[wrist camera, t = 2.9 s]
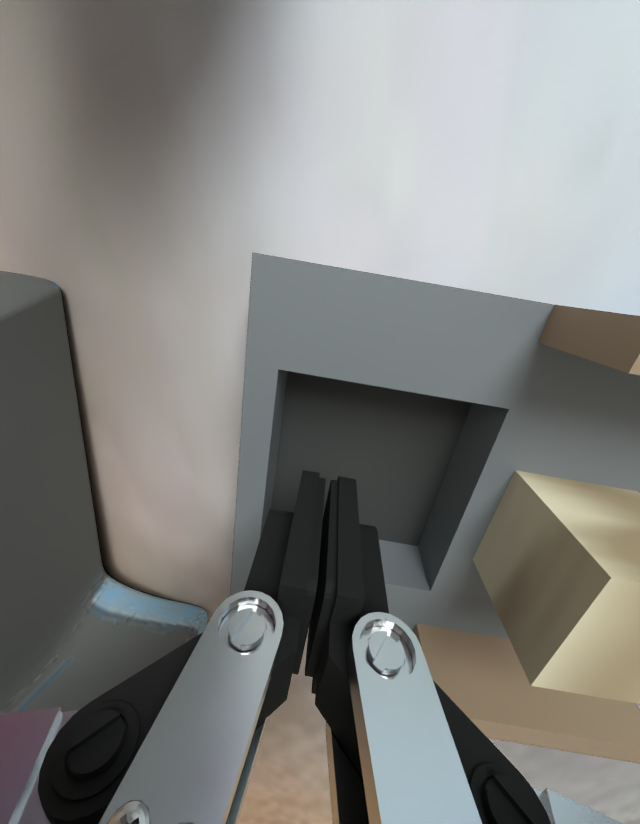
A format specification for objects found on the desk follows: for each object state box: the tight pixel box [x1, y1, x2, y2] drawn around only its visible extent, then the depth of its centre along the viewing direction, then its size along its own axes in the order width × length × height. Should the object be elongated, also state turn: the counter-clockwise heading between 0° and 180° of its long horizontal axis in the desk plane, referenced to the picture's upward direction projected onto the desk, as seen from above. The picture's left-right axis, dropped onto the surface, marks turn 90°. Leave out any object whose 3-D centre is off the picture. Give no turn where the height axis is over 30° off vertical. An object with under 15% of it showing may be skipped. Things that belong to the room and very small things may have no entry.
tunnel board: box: [230, 253, 640, 763], centre depth 11 cm, size 23×14×6 cm, turn 81°
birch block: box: [473, 470, 640, 704], centre depth 9 cm, size 4×4×4 cm
